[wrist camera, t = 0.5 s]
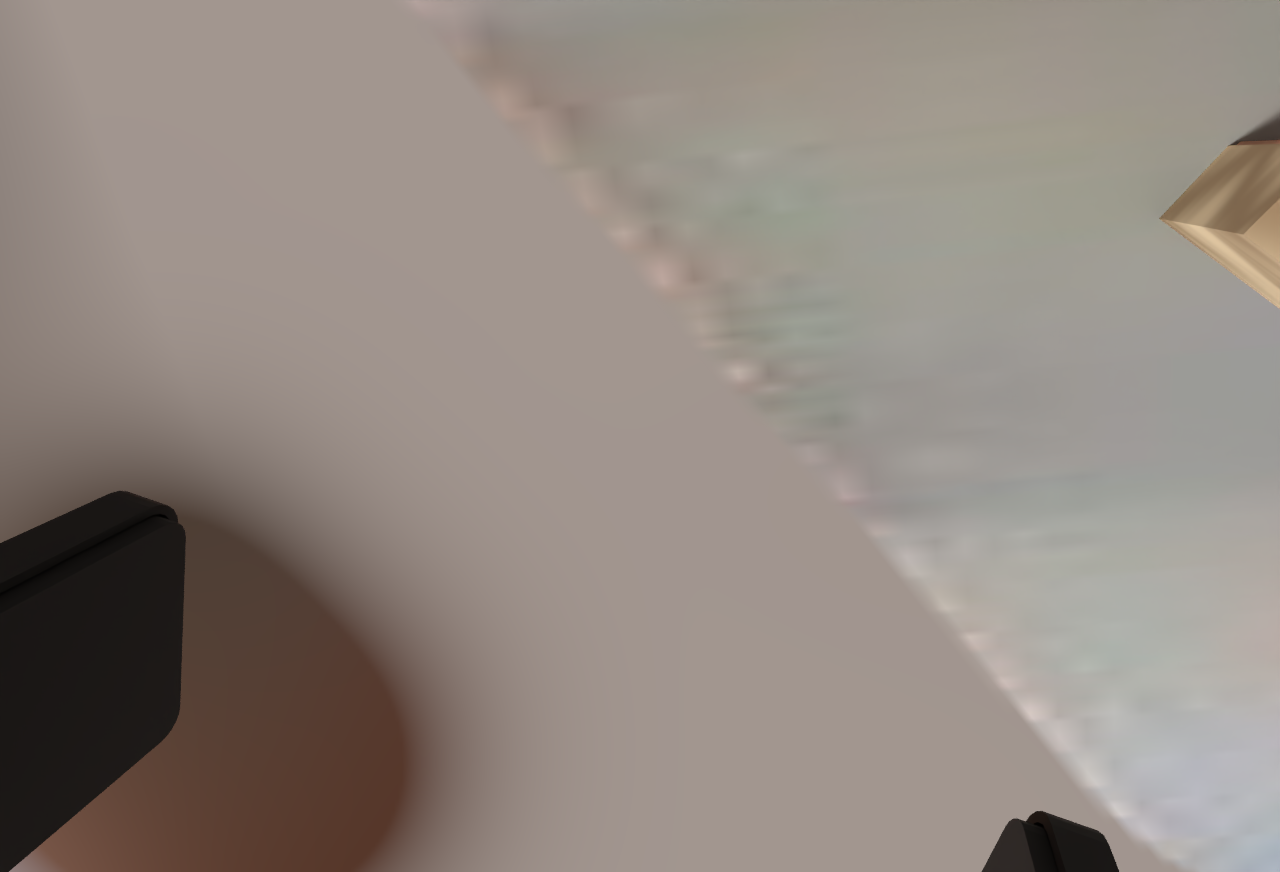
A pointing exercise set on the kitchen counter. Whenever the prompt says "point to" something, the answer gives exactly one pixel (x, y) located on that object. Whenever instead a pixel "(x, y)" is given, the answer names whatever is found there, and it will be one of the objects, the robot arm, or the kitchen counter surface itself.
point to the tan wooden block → (1237, 214)
